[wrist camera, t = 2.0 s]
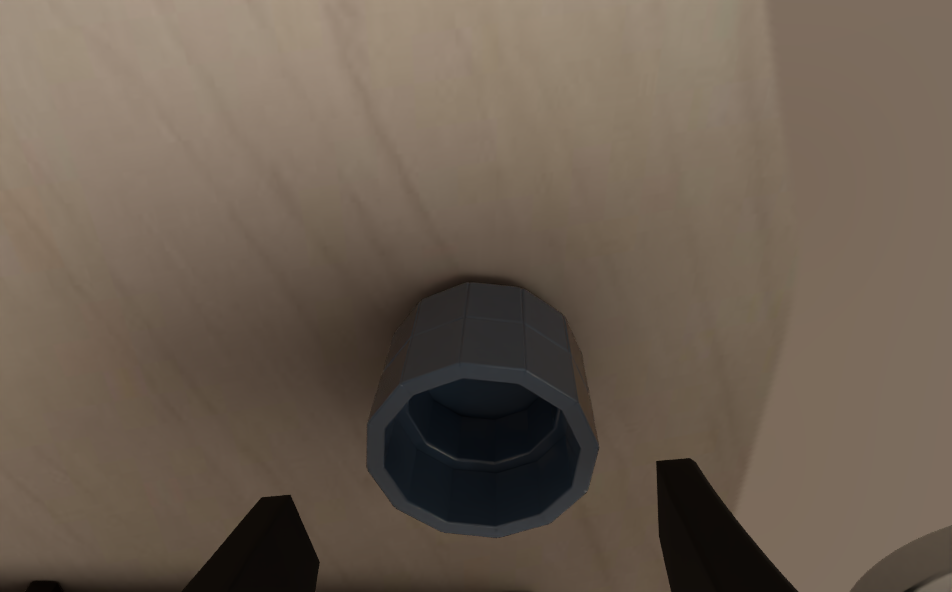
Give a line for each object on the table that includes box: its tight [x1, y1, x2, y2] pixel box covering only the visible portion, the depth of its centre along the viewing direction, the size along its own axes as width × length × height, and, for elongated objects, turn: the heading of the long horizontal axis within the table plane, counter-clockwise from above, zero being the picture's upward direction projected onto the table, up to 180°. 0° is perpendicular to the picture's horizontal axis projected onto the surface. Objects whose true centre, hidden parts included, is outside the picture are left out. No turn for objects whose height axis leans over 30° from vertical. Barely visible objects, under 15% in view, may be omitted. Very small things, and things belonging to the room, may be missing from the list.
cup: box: [366, 282, 599, 538], centre depth 15 cm, size 5×5×4 cm
